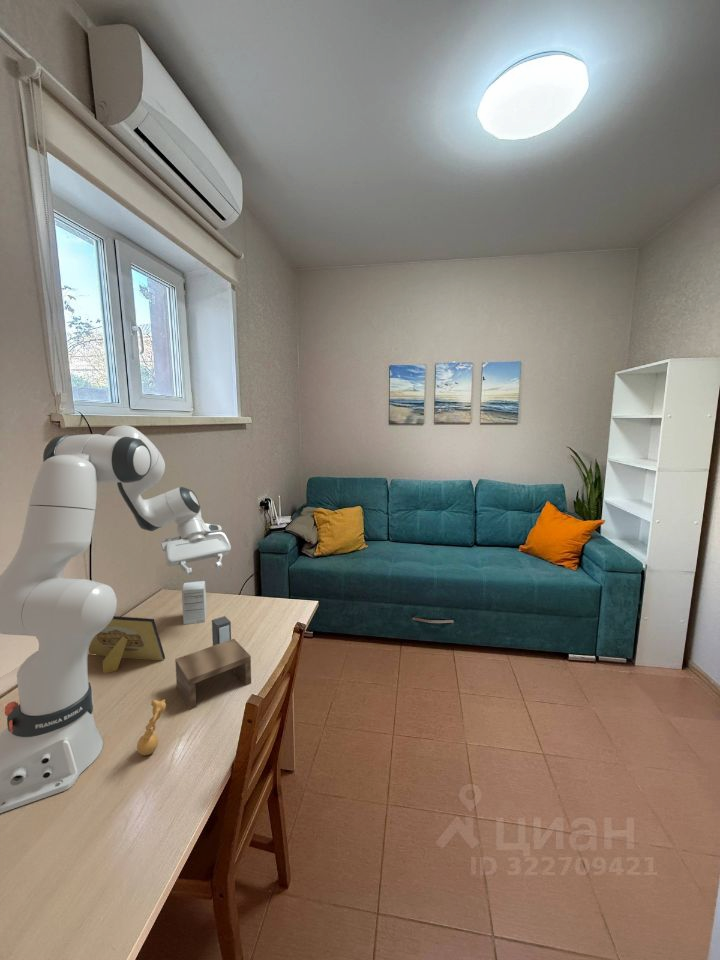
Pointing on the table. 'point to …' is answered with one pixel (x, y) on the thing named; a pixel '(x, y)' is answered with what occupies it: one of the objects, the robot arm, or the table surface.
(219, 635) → the tall grey pillar block
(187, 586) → the supplement box
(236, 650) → the walnut shelf
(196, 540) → the robot arm
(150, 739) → the figurine
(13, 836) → the table surface
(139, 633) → the picture frame
